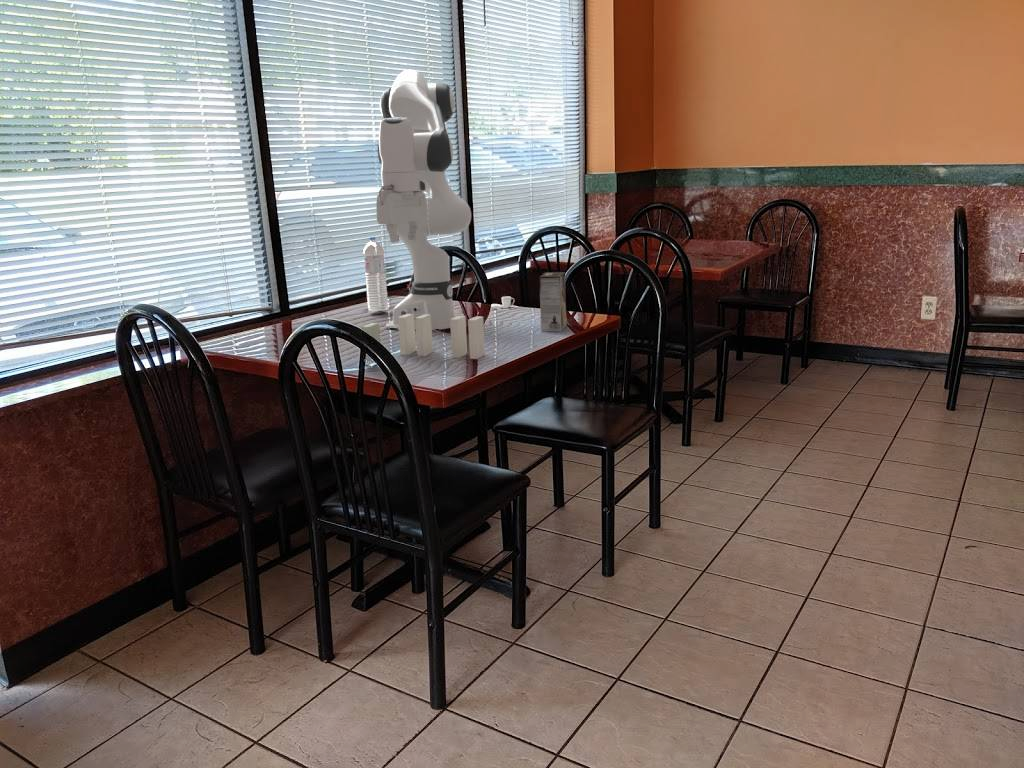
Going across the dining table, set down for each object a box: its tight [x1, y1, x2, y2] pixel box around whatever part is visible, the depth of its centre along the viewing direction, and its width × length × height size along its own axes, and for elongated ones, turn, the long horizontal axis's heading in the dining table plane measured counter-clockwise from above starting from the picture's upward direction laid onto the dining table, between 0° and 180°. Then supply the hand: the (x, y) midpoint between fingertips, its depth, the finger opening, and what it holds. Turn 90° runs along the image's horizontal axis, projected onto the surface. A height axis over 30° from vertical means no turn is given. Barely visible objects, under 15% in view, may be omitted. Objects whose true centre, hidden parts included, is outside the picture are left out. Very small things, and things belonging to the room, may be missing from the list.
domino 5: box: [467, 315, 486, 360], centre depth 211 cm, size 2×5×10 cm, turn 159°
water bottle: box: [362, 236, 389, 313], centre depth 281 cm, size 7×7×25 cm
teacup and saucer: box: [490, 295, 519, 311], centre depth 279 cm, size 9×8×4 cm
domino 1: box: [361, 322, 382, 362], centre depth 208 cm, size 2×5×10 cm, turn 159°
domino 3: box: [415, 314, 434, 357], centre depth 217 cm, size 2×5×10 cm, turn 159°
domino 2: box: [398, 314, 417, 356], centre depth 219 cm, size 2×5×10 cm, turn 159°
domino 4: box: [450, 315, 468, 359], centre depth 213 cm, size 2×5×10 cm, turn 159°
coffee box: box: [538, 271, 567, 332], centre depth 242 cm, size 9×6×16 cm
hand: (403, 241), depth 209 cm, fingers open, 8 cm apart
